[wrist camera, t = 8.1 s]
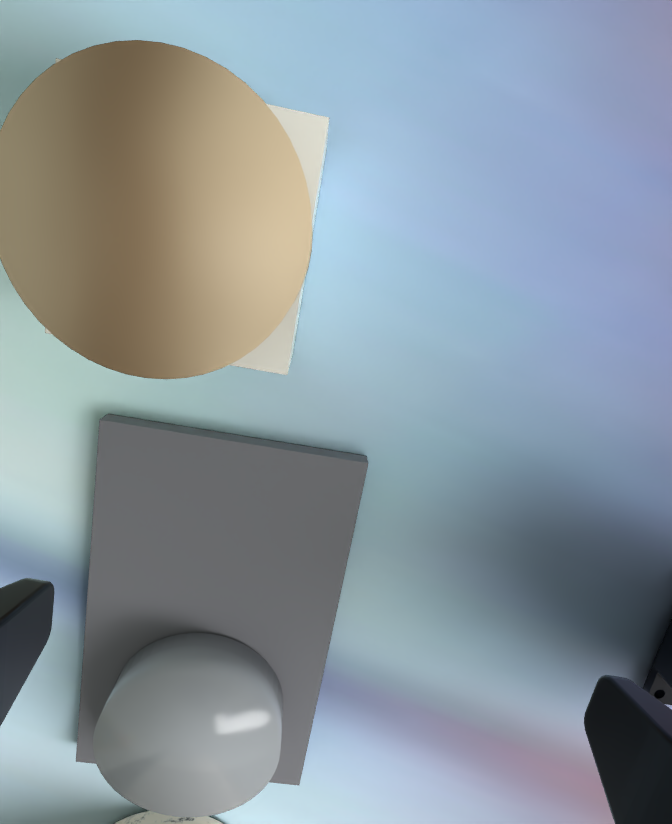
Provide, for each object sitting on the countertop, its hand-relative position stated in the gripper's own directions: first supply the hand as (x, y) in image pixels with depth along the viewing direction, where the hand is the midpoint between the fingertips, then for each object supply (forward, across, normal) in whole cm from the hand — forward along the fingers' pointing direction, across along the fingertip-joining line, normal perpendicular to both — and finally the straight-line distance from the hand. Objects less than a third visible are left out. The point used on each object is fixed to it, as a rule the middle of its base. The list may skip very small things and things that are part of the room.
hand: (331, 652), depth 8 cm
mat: (+12, +3, +9) cm, 15 cm away
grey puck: (+11, +3, +13) cm, 17 cm away
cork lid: (+8, +5, -6) cm, 11 cm away
